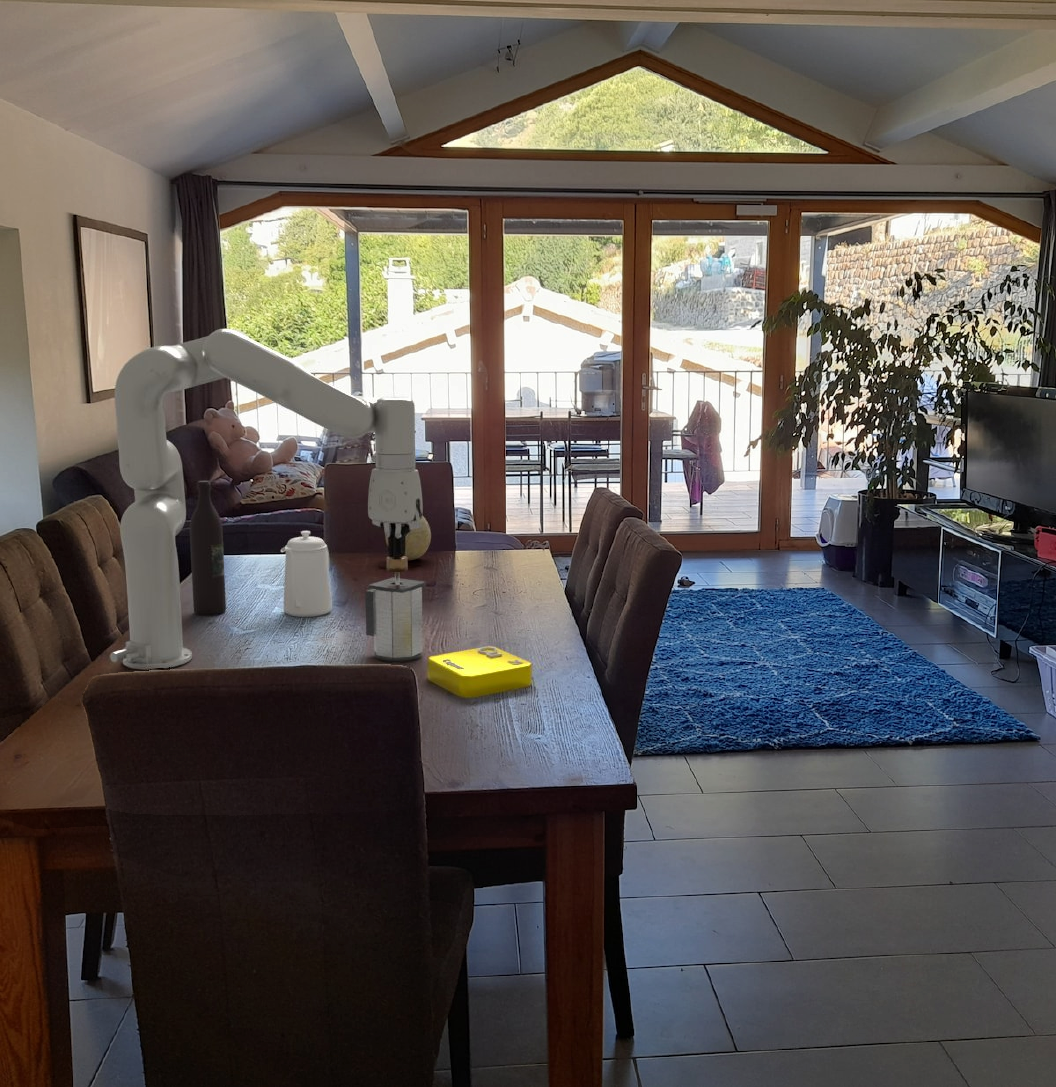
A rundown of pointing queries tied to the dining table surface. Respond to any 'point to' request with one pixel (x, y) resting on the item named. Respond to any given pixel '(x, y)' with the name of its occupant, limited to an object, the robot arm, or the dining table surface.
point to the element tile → (479, 671)
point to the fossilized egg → (417, 540)
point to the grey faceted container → (395, 619)
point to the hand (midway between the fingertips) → (396, 556)
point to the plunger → (397, 567)
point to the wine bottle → (207, 556)
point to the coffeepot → (306, 577)
